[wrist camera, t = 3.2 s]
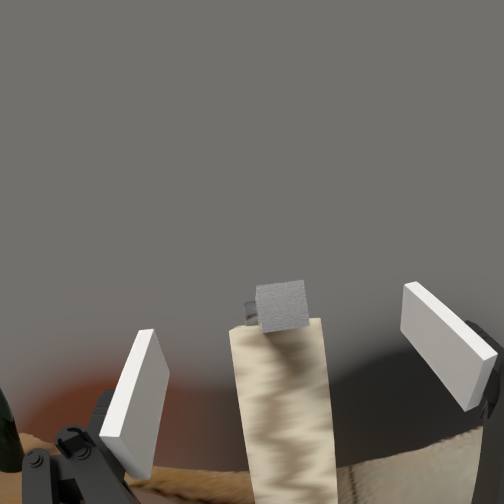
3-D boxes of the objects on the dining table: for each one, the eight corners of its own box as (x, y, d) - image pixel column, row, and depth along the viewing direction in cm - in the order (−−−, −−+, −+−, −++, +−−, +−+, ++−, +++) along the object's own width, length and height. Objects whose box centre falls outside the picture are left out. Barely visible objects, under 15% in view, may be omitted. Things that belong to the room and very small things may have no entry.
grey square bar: (291, 319, 44) (286, 287, 45) (335, 321, 20) (324, 251, 21) (245, 325, 44) (241, 293, 45) (236, 336, 20) (226, 264, 21)
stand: (318, 506, 39) (298, 317, 46) (339, 561, 24) (320, 318, 31) (265, 514, 39) (237, 326, 46) (269, 573, 24) (229, 331, 30)
